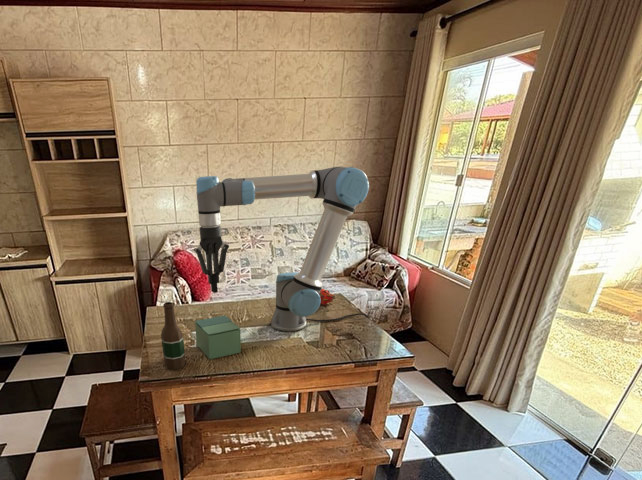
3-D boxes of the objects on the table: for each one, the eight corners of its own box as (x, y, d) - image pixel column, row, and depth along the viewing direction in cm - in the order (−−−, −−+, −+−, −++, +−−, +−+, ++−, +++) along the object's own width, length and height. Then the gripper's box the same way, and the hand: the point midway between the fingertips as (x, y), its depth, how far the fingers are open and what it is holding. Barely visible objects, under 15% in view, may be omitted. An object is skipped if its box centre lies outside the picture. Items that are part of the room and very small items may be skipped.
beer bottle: (190, 364, 151) (184, 302, 139) (174, 372, 146) (166, 308, 134) (176, 358, 155) (169, 298, 144) (160, 365, 150) (152, 303, 139)
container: (196, 344, 166) (194, 320, 161) (225, 338, 170) (224, 315, 165) (209, 359, 154) (208, 334, 149) (240, 352, 158) (240, 327, 153)
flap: (194, 321, 161) (194, 320, 161) (224, 316, 165) (224, 315, 165) (201, 328, 155) (201, 327, 155) (232, 322, 159) (232, 321, 159)
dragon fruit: (308, 305, 206) (332, 310, 203) (307, 300, 198) (332, 305, 194) (313, 289, 206) (337, 294, 203) (312, 283, 198) (337, 289, 195)
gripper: (223, 222, 146) (226, 286, 158) (188, 226, 142) (194, 292, 154) (231, 225, 140) (234, 291, 152) (196, 229, 136) (201, 297, 147)
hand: (214, 291), depth 153 cm, fingers closed
